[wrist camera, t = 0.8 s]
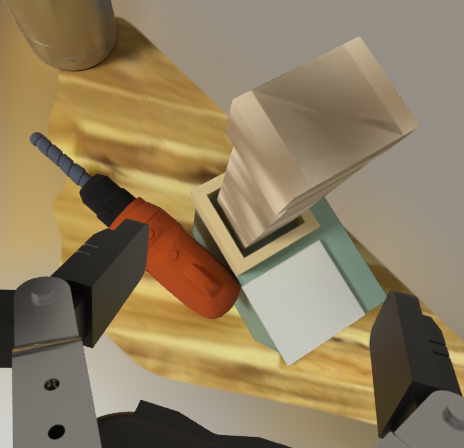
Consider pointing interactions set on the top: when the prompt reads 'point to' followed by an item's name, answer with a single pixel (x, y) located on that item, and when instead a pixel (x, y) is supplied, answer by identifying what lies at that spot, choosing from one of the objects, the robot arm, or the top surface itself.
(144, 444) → the robot arm
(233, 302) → the toy drill
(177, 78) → the top surface
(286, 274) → the tool chest
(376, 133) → the wooden key
